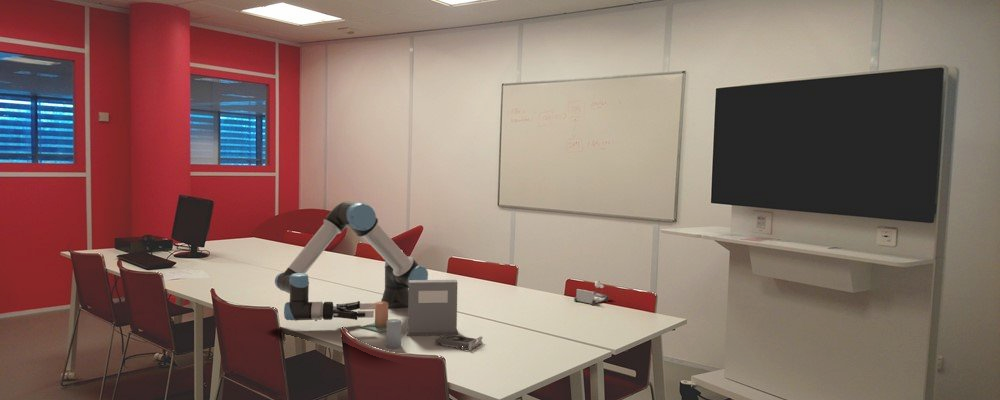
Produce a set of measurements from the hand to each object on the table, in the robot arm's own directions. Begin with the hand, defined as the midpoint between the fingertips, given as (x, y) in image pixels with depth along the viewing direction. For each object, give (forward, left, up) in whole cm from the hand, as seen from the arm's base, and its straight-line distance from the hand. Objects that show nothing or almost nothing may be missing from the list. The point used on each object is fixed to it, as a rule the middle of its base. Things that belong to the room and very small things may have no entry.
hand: (374, 309), depth 260 cm
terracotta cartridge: (+2, +2, -7) cm, 8 cm away
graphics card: (+42, +6, -8) cm, 44 cm away
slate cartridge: (+25, -13, -8) cm, 29 cm away
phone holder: (+48, +109, -8) cm, 119 cm away
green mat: (+2, +2, -8) cm, 8 cm away
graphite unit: (+24, +10, -8) cm, 27 cm away
